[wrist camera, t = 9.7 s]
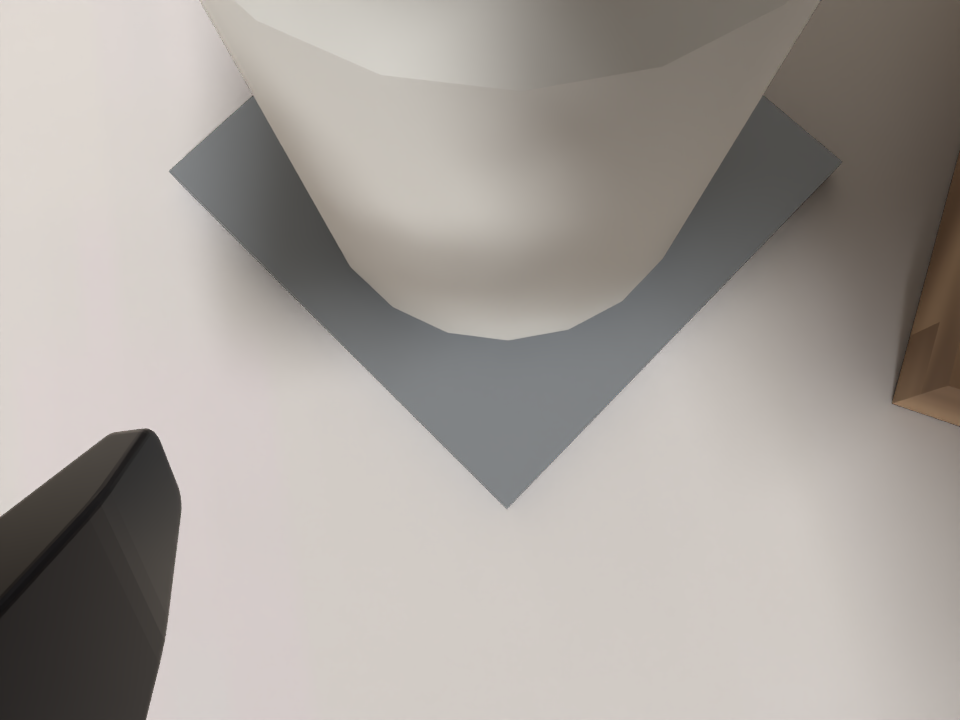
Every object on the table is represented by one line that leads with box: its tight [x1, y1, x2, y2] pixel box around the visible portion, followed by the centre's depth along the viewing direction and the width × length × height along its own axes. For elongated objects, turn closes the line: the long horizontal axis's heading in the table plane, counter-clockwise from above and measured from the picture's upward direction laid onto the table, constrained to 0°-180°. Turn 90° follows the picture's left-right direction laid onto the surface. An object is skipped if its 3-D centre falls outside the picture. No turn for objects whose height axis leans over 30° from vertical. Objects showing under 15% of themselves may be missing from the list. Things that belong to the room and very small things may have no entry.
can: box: [200, 0, 821, 340], centre depth 12 cm, size 8×8×12 cm
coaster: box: [169, 96, 842, 509], centre depth 18 cm, size 10×10×1 cm
